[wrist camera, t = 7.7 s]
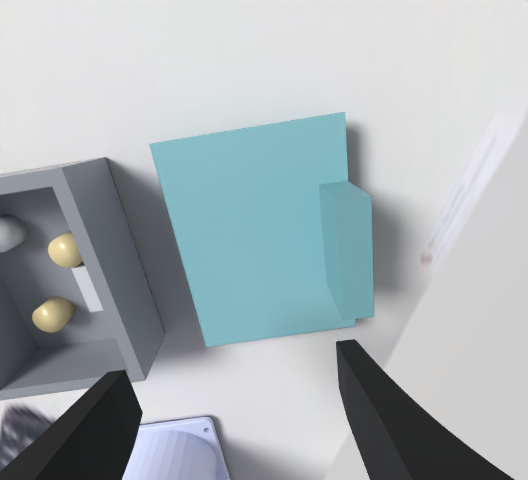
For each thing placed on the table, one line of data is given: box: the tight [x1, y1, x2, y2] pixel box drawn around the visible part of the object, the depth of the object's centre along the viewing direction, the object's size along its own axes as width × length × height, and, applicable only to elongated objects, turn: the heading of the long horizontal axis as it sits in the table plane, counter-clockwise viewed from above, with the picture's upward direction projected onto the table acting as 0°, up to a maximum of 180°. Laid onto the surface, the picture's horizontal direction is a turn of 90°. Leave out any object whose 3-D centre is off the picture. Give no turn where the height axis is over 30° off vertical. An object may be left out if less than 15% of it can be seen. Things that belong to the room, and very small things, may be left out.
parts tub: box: [0, 157, 165, 400], centre depth 17 cm, size 12×9×4 cm
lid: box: [149, 112, 374, 347], centre depth 16 cm, size 13×10×5 cm
